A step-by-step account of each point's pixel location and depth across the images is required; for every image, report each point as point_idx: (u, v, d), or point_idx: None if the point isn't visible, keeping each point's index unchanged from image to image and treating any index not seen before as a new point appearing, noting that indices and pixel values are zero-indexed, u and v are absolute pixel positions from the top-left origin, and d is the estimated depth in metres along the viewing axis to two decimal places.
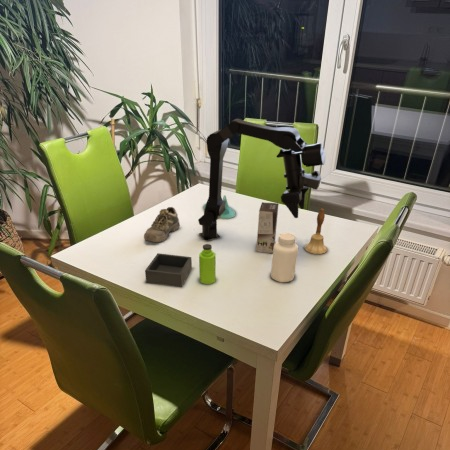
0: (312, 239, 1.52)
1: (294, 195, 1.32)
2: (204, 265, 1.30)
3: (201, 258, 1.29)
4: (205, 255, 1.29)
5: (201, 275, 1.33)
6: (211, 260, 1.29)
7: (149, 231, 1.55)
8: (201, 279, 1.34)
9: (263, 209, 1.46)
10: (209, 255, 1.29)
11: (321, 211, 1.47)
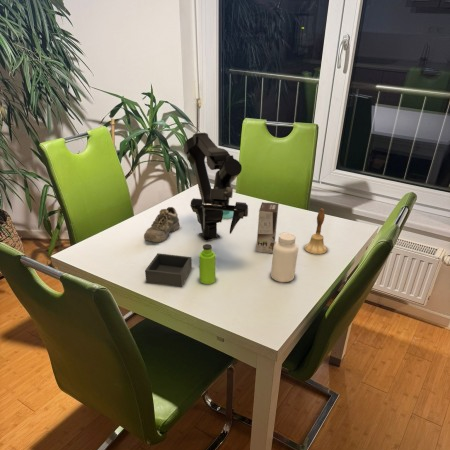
0: (312, 239, 1.52)
1: None
2: (204, 265, 1.30)
3: (201, 258, 1.29)
4: (205, 255, 1.29)
5: (201, 275, 1.33)
6: (211, 260, 1.29)
7: (149, 231, 1.55)
8: (201, 279, 1.34)
9: (263, 209, 1.46)
10: (209, 255, 1.29)
11: (321, 211, 1.47)
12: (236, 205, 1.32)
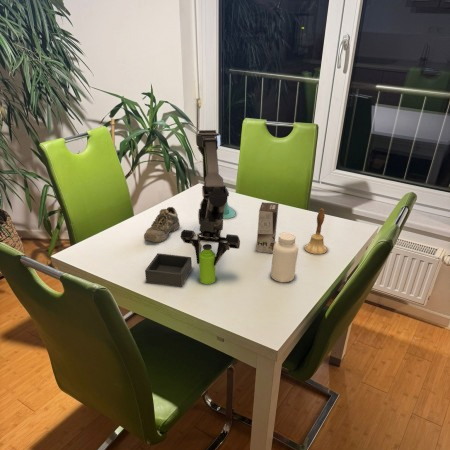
0: (312, 239, 1.52)
1: None
2: (204, 265, 1.30)
3: (201, 258, 1.29)
4: (205, 255, 1.29)
5: (201, 275, 1.33)
6: (211, 260, 1.29)
7: (149, 231, 1.55)
8: (201, 279, 1.34)
9: (263, 209, 1.46)
10: (209, 255, 1.29)
11: (321, 211, 1.47)
12: (227, 237, 1.29)
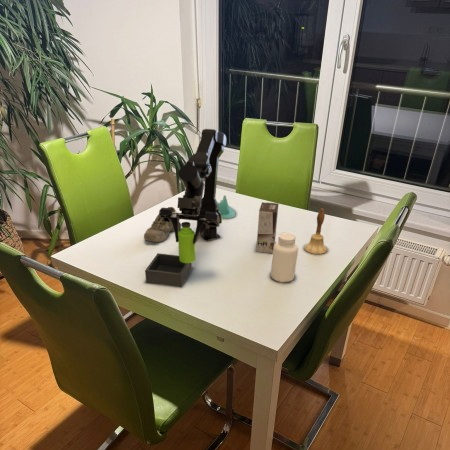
0: (312, 239, 1.52)
1: None
2: (183, 244, 1.27)
3: (180, 236, 1.27)
4: (184, 233, 1.26)
5: (180, 254, 1.30)
6: (190, 238, 1.27)
7: (149, 231, 1.55)
8: (180, 258, 1.31)
9: (263, 209, 1.46)
10: (188, 233, 1.26)
11: (321, 211, 1.47)
12: (205, 215, 1.26)
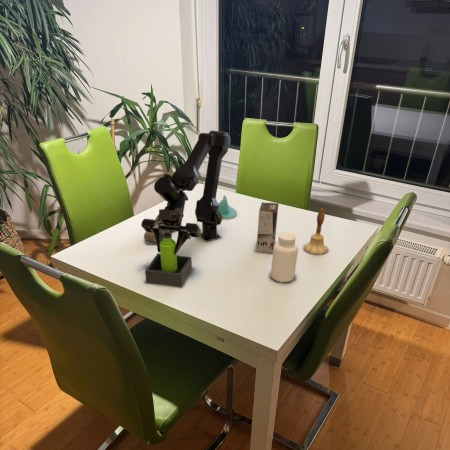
0: (312, 239, 1.52)
1: None
2: (164, 254, 1.31)
3: (161, 247, 1.30)
4: (165, 244, 1.30)
5: (162, 264, 1.34)
6: (171, 248, 1.30)
7: None
8: (162, 268, 1.35)
9: (263, 209, 1.46)
10: (169, 244, 1.30)
11: (321, 211, 1.47)
12: (186, 226, 1.30)
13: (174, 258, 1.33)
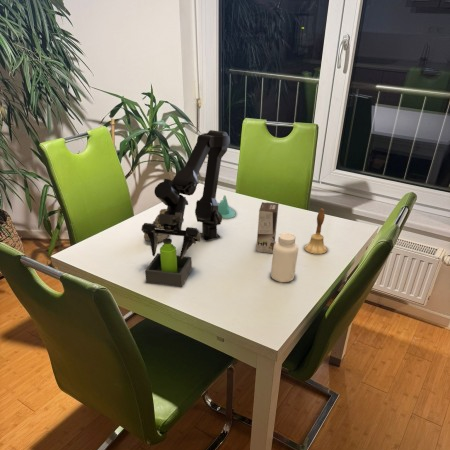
0: (312, 239, 1.52)
1: None
2: (164, 259, 1.32)
3: (161, 252, 1.31)
4: (165, 249, 1.31)
5: (162, 269, 1.35)
6: (171, 254, 1.31)
7: None
8: None
9: (263, 209, 1.46)
10: (169, 249, 1.31)
11: (321, 211, 1.47)
12: (186, 230, 1.30)
13: (174, 263, 1.34)
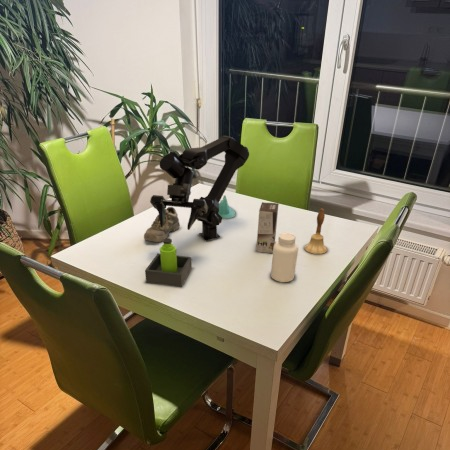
0: (312, 239, 1.52)
1: None
2: (164, 259, 1.32)
3: (161, 252, 1.31)
4: (165, 249, 1.31)
5: (162, 269, 1.35)
6: (171, 254, 1.31)
7: (149, 231, 1.55)
8: None
9: (263, 209, 1.46)
10: (169, 249, 1.31)
11: (321, 211, 1.47)
12: (194, 201, 1.35)
13: (174, 263, 1.34)
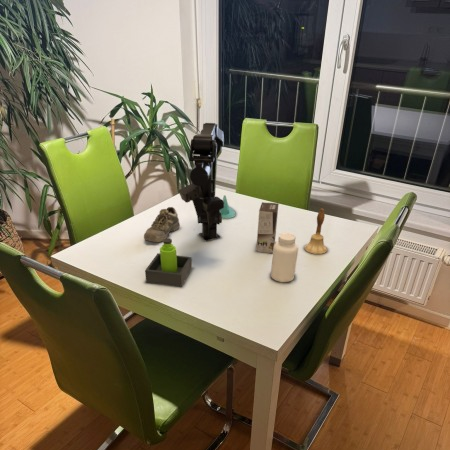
0: (312, 239, 1.52)
1: None
2: (164, 259, 1.32)
3: (161, 252, 1.31)
4: (165, 249, 1.31)
5: (162, 269, 1.35)
6: (171, 254, 1.31)
7: (149, 231, 1.55)
8: None
9: (263, 209, 1.46)
10: (169, 249, 1.31)
11: (321, 211, 1.47)
12: (203, 203, 1.34)
13: (174, 263, 1.34)
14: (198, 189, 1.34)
